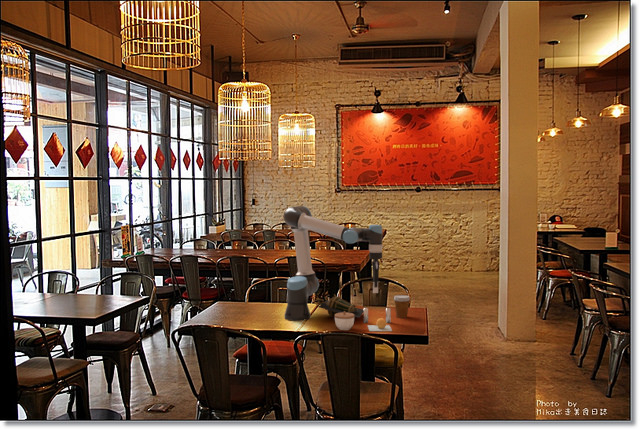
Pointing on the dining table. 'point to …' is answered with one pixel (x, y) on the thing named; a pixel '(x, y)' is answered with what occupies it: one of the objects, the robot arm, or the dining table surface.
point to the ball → (381, 323)
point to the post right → (388, 315)
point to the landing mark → (375, 328)
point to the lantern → (339, 307)
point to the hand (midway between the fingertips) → (375, 292)
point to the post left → (365, 315)
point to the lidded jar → (344, 320)
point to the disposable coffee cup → (401, 305)
